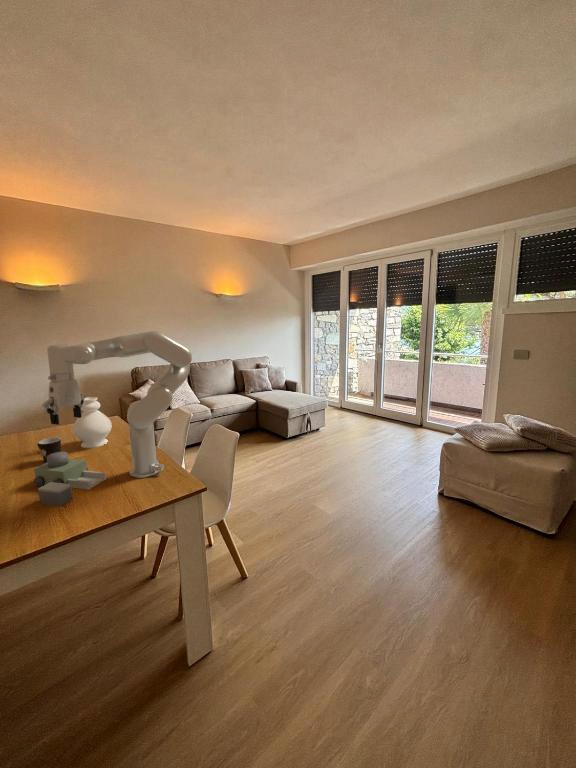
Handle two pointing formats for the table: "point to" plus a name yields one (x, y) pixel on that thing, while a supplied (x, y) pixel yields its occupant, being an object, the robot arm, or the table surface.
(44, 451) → the coffee mug
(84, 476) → the green toy tractor
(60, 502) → the gray rectangular block
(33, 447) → the table surface
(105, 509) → the table surface
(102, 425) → the decorative vase
